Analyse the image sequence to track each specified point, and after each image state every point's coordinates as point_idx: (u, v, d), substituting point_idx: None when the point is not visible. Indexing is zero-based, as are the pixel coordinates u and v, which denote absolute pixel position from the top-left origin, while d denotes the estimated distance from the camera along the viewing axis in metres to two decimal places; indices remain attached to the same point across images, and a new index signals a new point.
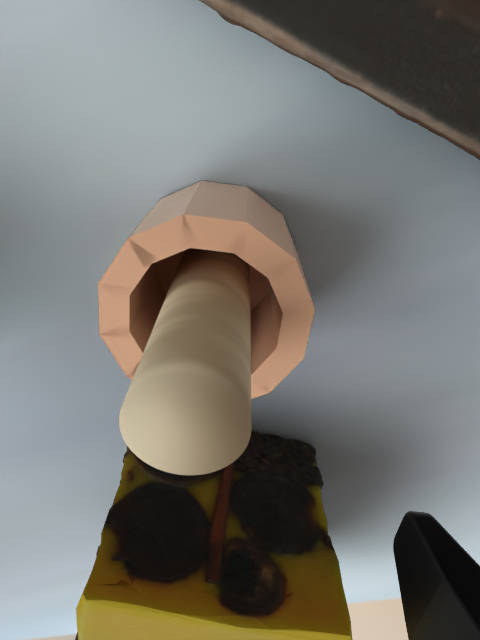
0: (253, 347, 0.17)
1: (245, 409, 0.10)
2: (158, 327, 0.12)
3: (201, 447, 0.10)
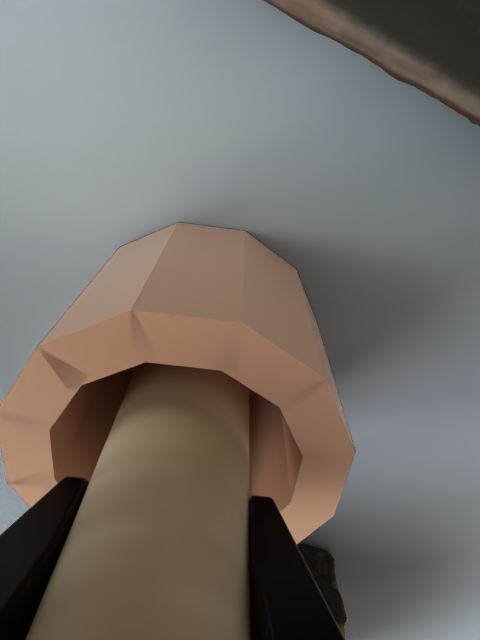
0: (254, 474, 0.11)
1: None
2: (75, 538, 0.06)
3: None
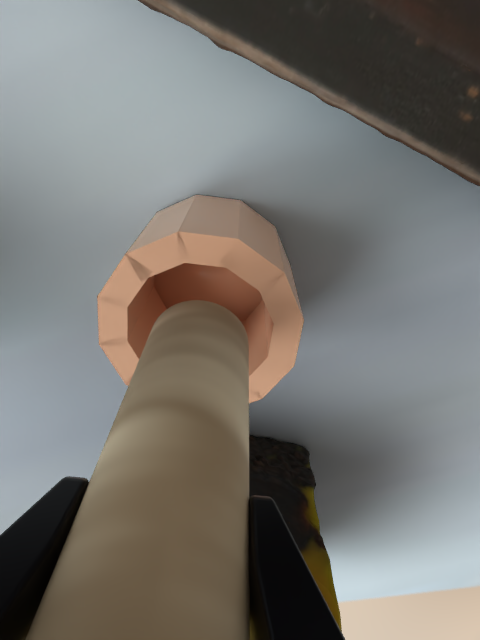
0: None
1: None
2: (75, 539, 0.06)
3: None
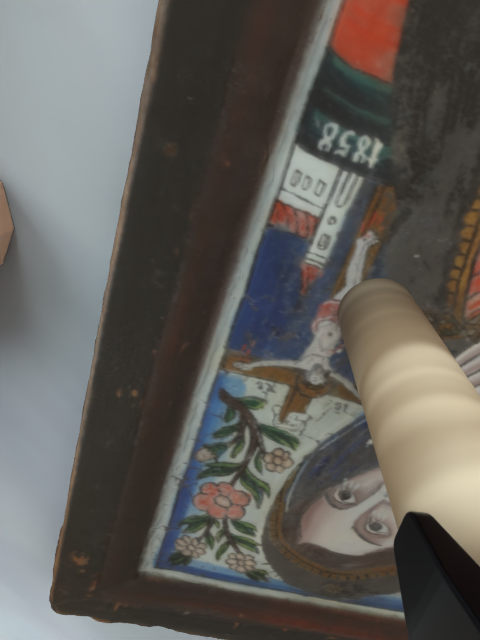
0: None
1: None
2: None
3: None
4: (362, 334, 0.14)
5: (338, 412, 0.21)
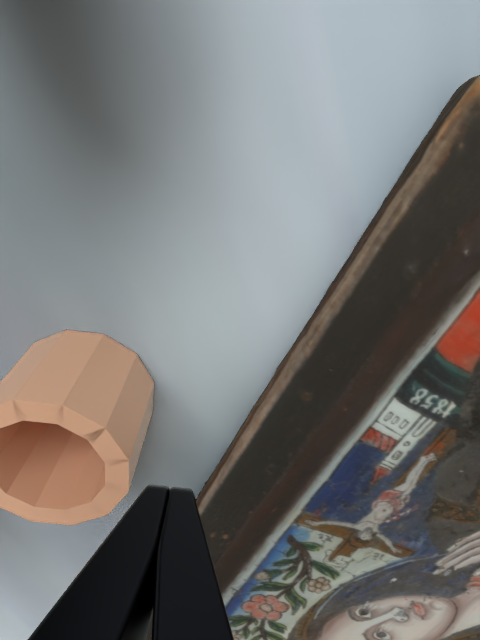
0: (25, 465, 0.20)
1: None
2: None
3: None
4: None
5: (375, 559, 0.27)
